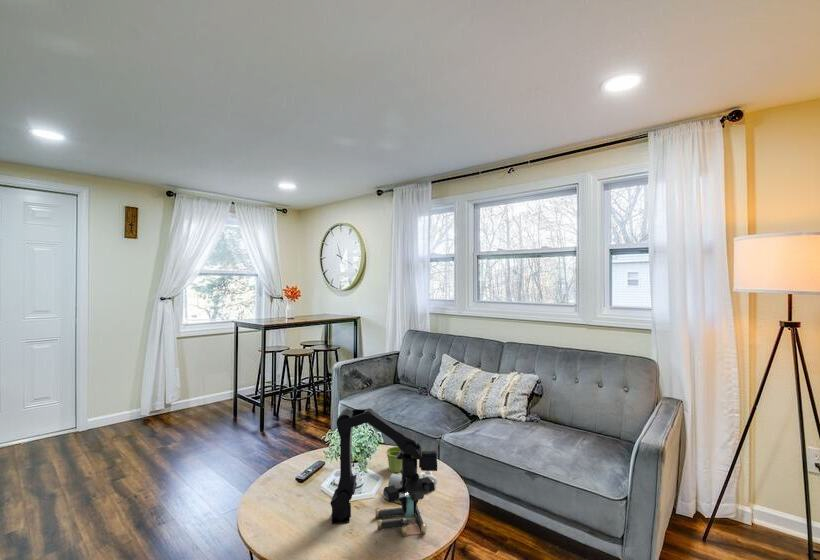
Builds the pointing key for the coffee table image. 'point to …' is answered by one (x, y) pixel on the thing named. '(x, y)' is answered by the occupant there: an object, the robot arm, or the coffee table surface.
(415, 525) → the pad
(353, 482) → the robot arm
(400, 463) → the plant pot
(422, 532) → the metal rail track
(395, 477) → the ceramic mug
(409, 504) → the peg
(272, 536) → the coffee table surface
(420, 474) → the knot
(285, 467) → the coffee table surface
